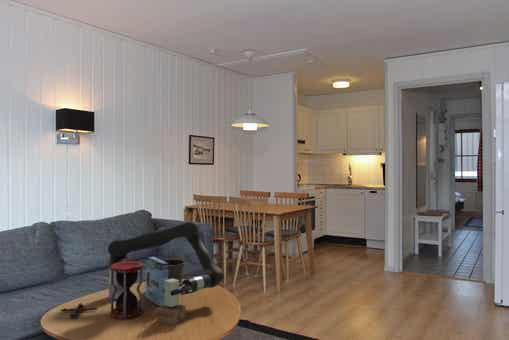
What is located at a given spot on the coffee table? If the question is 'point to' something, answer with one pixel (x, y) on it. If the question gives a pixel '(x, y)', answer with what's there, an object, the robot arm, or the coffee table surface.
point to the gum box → (156, 279)
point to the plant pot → (175, 269)
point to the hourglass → (126, 290)
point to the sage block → (168, 287)
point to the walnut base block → (171, 314)
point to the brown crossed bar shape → (78, 310)
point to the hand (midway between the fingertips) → (167, 292)
